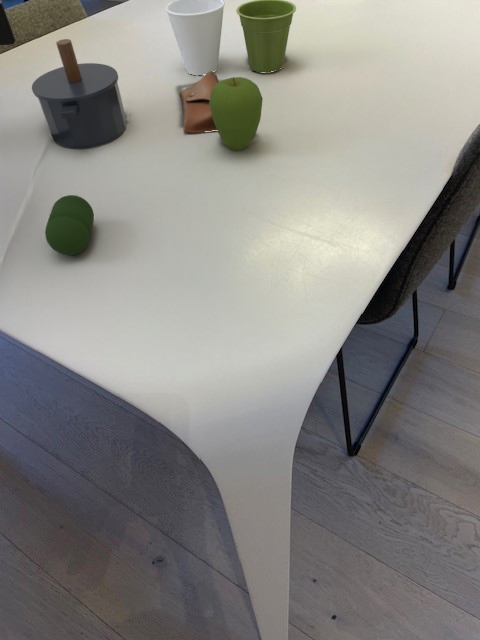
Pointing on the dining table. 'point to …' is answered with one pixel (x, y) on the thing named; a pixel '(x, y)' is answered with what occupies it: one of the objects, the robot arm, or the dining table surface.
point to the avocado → (69, 225)
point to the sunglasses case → (198, 105)
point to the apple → (236, 111)
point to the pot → (86, 120)
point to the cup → (197, 32)
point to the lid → (73, 78)
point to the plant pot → (266, 32)
